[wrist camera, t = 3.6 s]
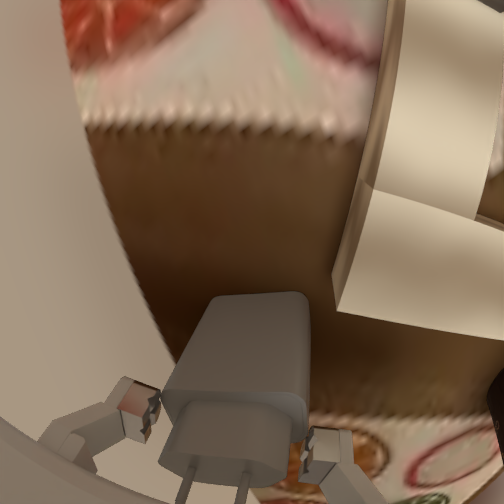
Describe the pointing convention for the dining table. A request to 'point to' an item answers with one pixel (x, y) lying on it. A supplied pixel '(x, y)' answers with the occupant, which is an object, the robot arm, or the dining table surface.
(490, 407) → the coffee mug
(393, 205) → the tidy board
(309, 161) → the dining table surface
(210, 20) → the dining table surface
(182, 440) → the power adapter
